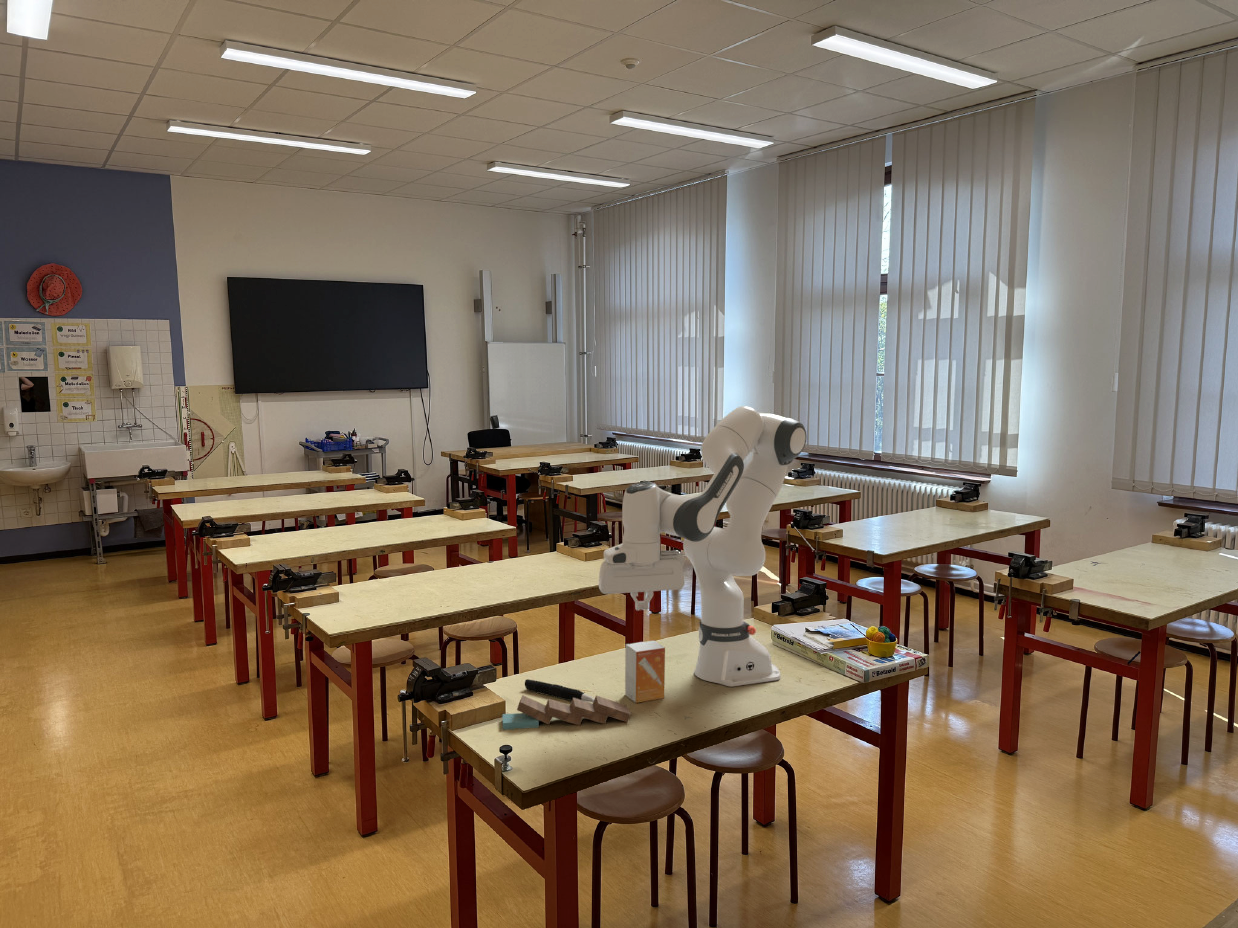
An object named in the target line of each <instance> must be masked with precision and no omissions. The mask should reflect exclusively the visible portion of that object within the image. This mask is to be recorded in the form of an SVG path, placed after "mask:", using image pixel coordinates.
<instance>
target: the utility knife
mask: <svg viewBox="0 0 1238 928" xmlns="http://www.w3.org/2000/svg"><path fill="white" fill-rule="evenodd" d="M524 687H525V689H526V690H527V691H531V692H533V691H534V692H535V693H537V692H538V694H541V693H542V695H546V694H547V695H546V696H550V697H554V696H555V697H554V698H558V697H559V698H558V699H562V698H563V700H568V701H570V702H571V701H572V699H573V698H576V699H579V700H583V701H586V702H589V703H593V702H594V699H595V698H594V697H592V696H590V695H588V694H587V693H586V694H585V692H583V691H582V690H580V689H575V688H570V687H566V686H563V685H559V684H556V683H555V684H554V683H548V682H543V681H541V680H540V681H539V680H533V679H528V678H527V679H525V681H524Z"/></svg>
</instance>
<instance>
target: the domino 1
mask: <svg viewBox="0 0 1238 928" xmlns="http://www.w3.org/2000/svg"><path fill="white" fill-rule="evenodd" d="M539 722H540V720H538V719H535V718H533V717H531V716H529V715H527V714H524V713H522V712H515V713H503V714H502V730H503V731H504V730H515V728H519V729H533V728H534V729H535V728H539V727H540V725H539V724H540V723H539Z"/></svg>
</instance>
